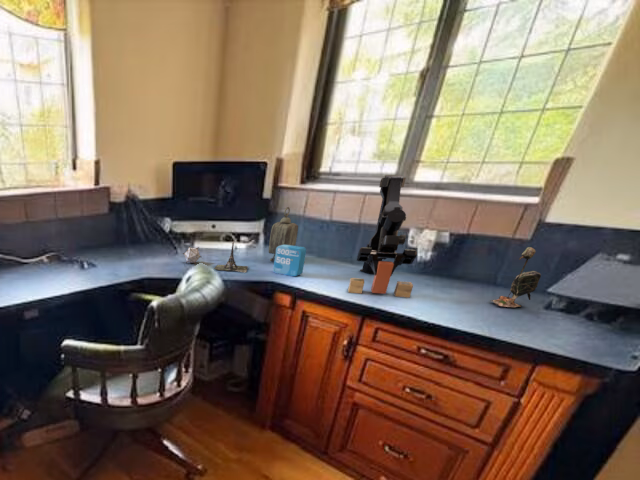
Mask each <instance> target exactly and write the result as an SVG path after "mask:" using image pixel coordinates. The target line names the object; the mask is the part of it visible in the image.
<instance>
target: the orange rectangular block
mask: <svg viewBox="0 0 640 480" xmlns="http://www.w3.org/2000/svg"><path fill="white" fill-rule="evenodd" d="M393 262H394V261H389V260H382V261H378V265H377V274H376V276H375V275H374V276H373V280H372V284H371V287H370V291H371V293H372V294H383V295H384V294H387V290H388V288H389V287H388V286H389V283H390V281H391V277H392V276H391V273H392V269H393V266H394V264H393ZM390 276H391V277H390Z"/></svg>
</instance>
